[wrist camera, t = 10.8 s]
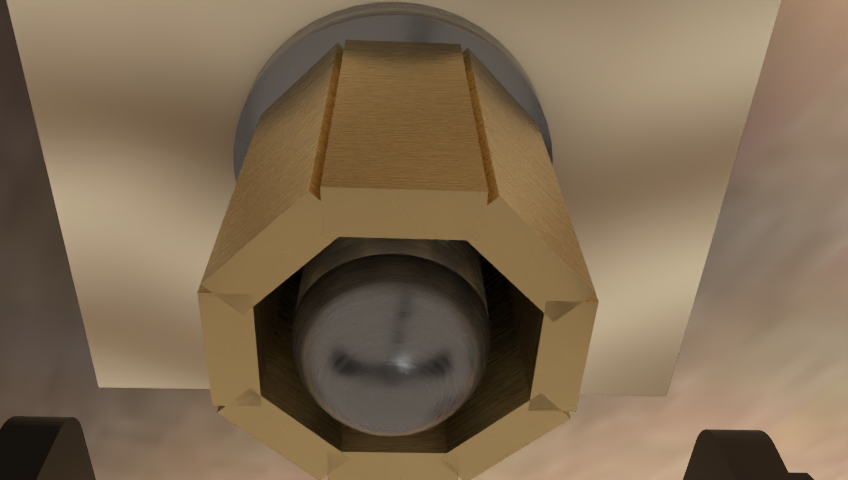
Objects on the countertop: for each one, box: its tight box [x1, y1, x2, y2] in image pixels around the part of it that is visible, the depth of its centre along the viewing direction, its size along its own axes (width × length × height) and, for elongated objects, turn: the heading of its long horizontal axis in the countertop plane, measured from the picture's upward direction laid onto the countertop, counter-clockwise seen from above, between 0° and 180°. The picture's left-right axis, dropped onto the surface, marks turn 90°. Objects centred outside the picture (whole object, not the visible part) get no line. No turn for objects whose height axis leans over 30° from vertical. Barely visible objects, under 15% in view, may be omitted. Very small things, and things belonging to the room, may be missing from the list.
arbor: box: [233, 2, 553, 436], centre depth 15 cm, size 7×7×8 cm
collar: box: [197, 40, 599, 480], centre depth 15 cm, size 6×6×6 cm
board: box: [7, 0, 781, 396], centre depth 19 cm, size 15×16×2 cm
